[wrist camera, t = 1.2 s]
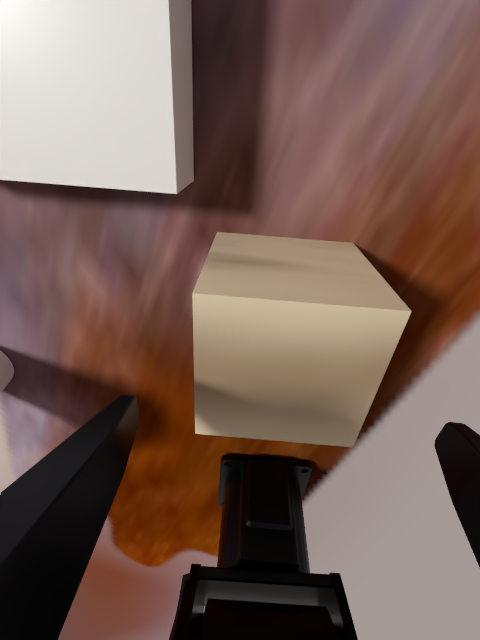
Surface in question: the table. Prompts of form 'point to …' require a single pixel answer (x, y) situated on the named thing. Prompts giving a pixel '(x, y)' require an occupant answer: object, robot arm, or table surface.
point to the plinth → (97, 93)
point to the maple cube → (290, 339)
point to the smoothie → (5, 371)
